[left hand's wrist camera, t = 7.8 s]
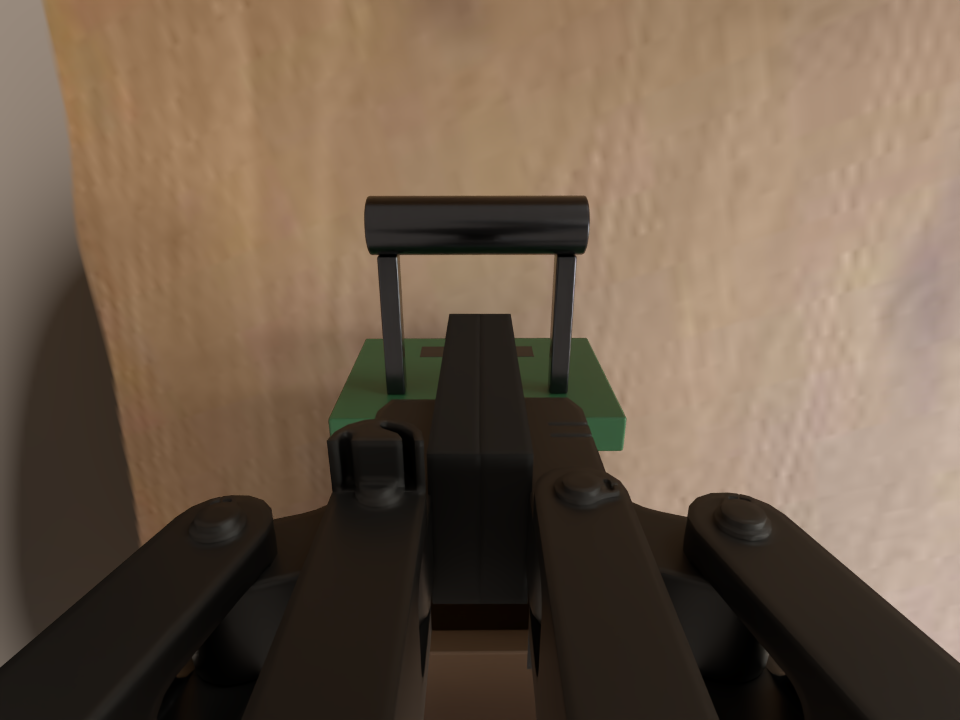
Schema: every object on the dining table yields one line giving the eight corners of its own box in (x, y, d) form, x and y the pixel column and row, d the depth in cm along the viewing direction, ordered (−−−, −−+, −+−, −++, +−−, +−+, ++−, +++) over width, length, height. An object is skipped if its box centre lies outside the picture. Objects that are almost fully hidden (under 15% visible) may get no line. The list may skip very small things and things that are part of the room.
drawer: (352, 178, 21) (301, 206, 15) (600, 177, 21) (651, 205, 15) (394, 680, 31) (375, 820, 25) (560, 679, 32) (581, 817, 25)
